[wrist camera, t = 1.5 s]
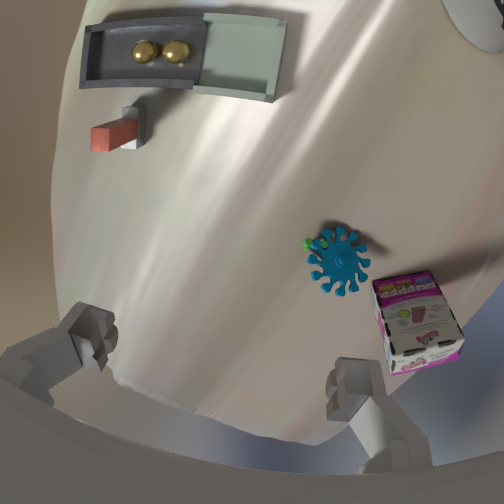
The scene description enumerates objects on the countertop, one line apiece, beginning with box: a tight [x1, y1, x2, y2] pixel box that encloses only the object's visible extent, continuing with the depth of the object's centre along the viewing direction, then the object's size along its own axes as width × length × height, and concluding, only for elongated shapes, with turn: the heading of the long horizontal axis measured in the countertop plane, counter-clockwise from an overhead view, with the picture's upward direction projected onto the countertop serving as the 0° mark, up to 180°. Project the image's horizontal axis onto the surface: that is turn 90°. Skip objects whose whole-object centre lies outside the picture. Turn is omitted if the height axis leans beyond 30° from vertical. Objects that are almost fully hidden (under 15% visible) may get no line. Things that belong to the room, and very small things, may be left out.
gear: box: [302, 227, 371, 296], centre depth 44 cm, size 11×6×10 cm
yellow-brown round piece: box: [131, 40, 158, 64], centre depth 31 cm, size 4×4×4 cm
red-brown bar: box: [91, 106, 146, 152], centre depth 35 cm, size 6×3×10 cm, turn 172°
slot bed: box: [79, 16, 208, 89], centre depth 32 cm, size 10×18×3 cm, turn 82°
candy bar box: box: [372, 271, 465, 376], centre depth 41 cm, size 11×5×16 cm, turn 105°
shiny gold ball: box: [162, 39, 190, 64], centre depth 31 cm, size 4×4×4 cm
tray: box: [192, 13, 287, 103], centre depth 32 cm, size 11×10×3 cm
